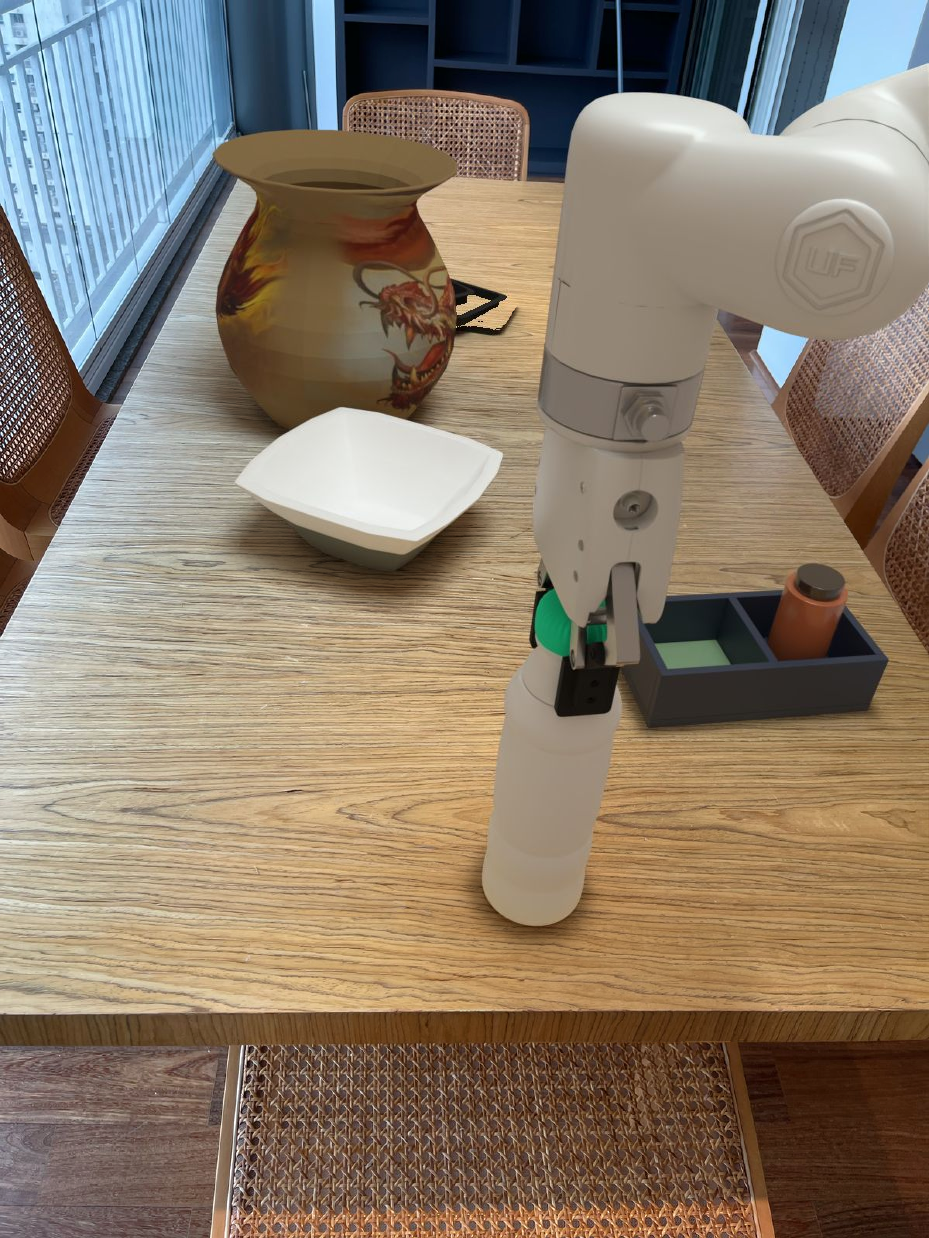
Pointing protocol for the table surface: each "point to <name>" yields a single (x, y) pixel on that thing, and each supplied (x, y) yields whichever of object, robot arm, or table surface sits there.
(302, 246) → the vase
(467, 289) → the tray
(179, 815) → the table surface
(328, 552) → the bowl
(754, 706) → the divided storage box
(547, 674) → the water bottle
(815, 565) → the spice jar
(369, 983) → the table surface
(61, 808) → the table surface
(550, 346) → the robot arm
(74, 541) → the table surface
